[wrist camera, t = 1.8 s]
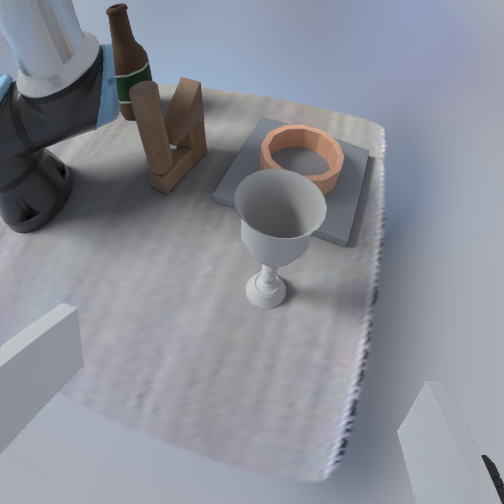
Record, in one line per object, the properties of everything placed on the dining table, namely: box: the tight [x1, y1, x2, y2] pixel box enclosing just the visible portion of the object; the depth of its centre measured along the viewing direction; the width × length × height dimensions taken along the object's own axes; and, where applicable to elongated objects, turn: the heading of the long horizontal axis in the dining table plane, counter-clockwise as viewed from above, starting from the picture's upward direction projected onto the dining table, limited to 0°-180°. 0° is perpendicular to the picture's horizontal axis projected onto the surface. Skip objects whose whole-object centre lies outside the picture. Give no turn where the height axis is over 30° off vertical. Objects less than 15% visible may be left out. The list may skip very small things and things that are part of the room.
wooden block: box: [129, 78, 207, 194], centre depth 42 cm, size 4×11×18 cm, turn 150°
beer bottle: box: [106, 3, 152, 120], centre depth 48 cm, size 8×8×24 cm
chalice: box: [234, 169, 327, 309], centre depth 33 cm, size 7×7×18 cm
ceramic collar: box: [260, 125, 344, 196], centre depth 47 cm, size 12×12×4 cm
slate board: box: [213, 117, 369, 247], centre depth 49 cm, size 20×20×2 cm
